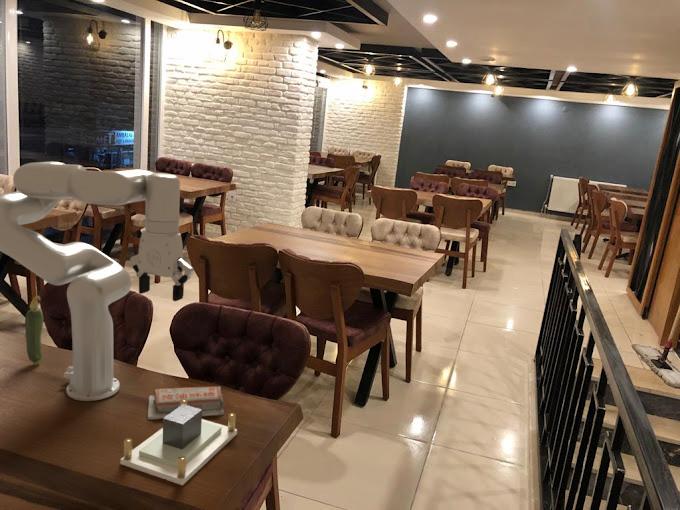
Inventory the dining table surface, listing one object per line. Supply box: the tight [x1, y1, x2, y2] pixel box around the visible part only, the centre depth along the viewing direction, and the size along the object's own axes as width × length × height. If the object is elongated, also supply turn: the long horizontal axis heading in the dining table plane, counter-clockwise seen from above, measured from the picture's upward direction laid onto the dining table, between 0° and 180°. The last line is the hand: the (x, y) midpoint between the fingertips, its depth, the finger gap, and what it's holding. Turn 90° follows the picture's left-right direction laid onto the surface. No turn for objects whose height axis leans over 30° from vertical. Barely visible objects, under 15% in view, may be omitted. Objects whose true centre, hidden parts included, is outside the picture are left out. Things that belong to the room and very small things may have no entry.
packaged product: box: [147, 385, 225, 420], centre depth 139 cm, size 18×5×10 cm
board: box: [139, 404, 222, 469], centre depth 121 cm, size 10×16×7 cm, turn 160°
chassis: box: [120, 399, 238, 486], centre depth 122 cm, size 15×21×5 cm
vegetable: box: [24, 295, 44, 366], centre depth 152 cm, size 4×4×20 cm
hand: (160, 295), depth 134 cm, fingers open, 9 cm apart
